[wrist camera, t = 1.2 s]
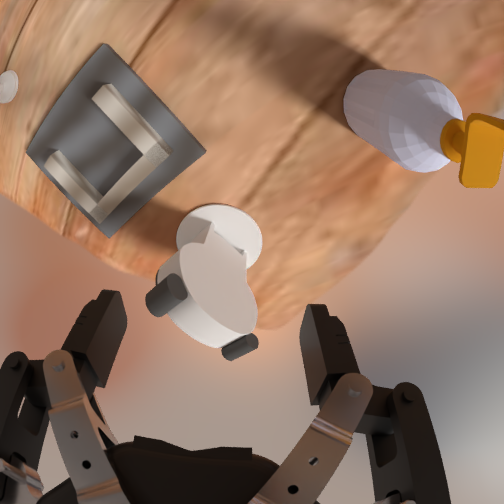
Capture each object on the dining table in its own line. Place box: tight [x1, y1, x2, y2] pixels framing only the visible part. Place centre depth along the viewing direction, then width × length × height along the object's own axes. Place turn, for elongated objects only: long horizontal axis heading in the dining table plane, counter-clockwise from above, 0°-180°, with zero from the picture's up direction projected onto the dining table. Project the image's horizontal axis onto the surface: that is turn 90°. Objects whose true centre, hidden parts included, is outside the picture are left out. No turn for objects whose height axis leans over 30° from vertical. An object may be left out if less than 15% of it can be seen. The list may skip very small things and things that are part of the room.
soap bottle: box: [343, 69, 504, 188], centre depth 17 cm, size 9×9×25 cm
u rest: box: [26, 44, 206, 238], centre depth 27 cm, size 18×18×3 cm
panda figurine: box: [145, 204, 262, 361], centre depth 31 cm, size 12×11×15 cm
